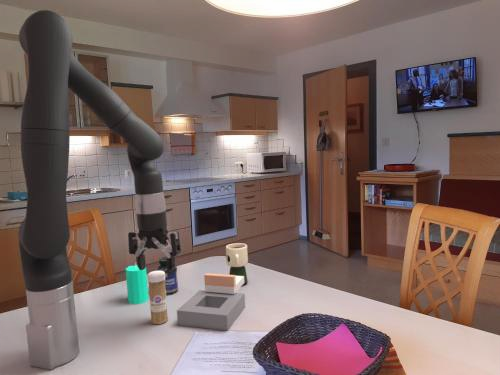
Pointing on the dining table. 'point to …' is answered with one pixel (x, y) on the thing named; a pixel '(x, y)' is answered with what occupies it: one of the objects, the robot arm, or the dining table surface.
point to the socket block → (211, 310)
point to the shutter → (223, 283)
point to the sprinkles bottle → (157, 297)
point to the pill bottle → (169, 277)
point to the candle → (136, 285)
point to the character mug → (237, 259)
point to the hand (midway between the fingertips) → (156, 270)
